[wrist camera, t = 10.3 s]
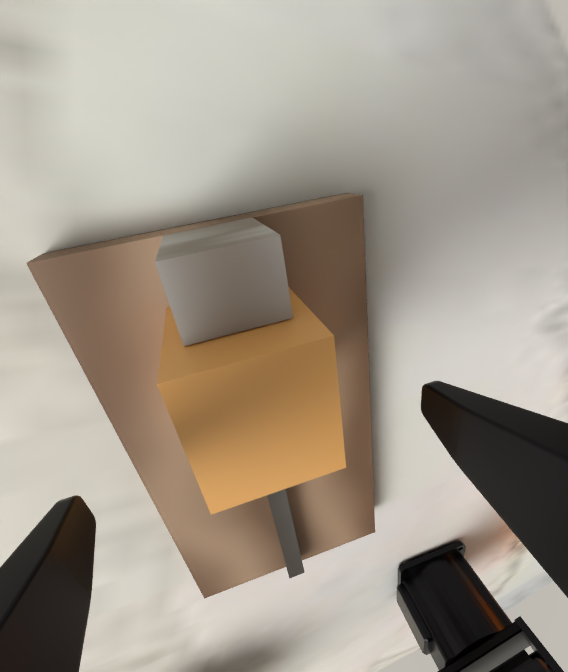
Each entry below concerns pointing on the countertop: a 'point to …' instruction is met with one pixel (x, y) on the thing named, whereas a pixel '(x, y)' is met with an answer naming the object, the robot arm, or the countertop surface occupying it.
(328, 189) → the countertop surface
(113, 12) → the countertop surface
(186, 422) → the block
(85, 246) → the track
